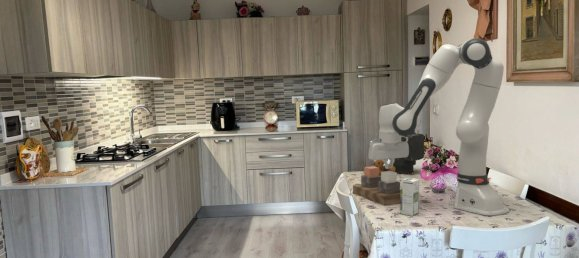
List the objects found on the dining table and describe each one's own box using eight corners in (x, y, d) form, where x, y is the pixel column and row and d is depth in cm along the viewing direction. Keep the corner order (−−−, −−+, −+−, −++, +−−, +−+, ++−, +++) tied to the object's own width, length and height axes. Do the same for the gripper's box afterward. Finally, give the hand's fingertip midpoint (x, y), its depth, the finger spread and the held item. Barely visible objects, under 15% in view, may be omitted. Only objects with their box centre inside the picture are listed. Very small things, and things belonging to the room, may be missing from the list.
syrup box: (405, 210, 186) (405, 177, 184) (419, 213, 182) (419, 178, 181) (399, 214, 181) (399, 179, 180) (413, 216, 178) (413, 181, 176)
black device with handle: (400, 169, 277) (400, 122, 274) (425, 173, 263) (425, 123, 260) (385, 172, 267) (385, 123, 264) (410, 176, 254) (410, 125, 251)
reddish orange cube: (378, 177, 214) (378, 167, 213) (370, 178, 212) (370, 168, 211) (372, 176, 218) (372, 166, 218) (364, 177, 216) (364, 167, 216)
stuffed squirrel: (366, 181, 244) (366, 158, 243) (387, 179, 250) (387, 156, 248) (376, 185, 235) (376, 160, 234) (398, 182, 240) (398, 158, 239)
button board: (409, 201, 200) (409, 182, 199) (384, 205, 195) (383, 185, 194) (376, 189, 224) (376, 172, 223) (352, 193, 218) (352, 175, 217)
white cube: (396, 183, 201) (396, 172, 200) (387, 184, 199) (387, 173, 198) (390, 181, 205) (390, 170, 205) (381, 182, 203) (381, 171, 203)
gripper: (373, 140, 193) (373, 171, 194) (411, 137, 201) (410, 167, 203) (365, 139, 199) (365, 169, 200) (402, 136, 207) (402, 165, 208)
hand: (388, 168), depth 201 cm, fingers closed
